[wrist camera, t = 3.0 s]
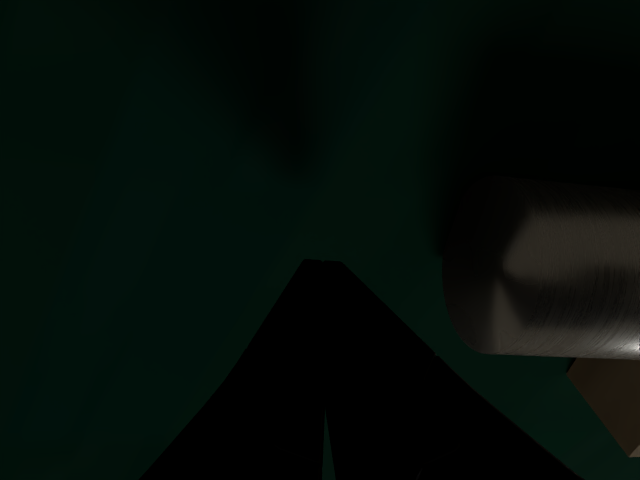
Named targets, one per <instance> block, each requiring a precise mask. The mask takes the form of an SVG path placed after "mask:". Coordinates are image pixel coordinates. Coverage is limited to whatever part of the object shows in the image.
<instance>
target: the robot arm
mask: <svg viewBox="0 0 640 480" xmlns="http://www.w3.org/2000/svg"><path fill="white" fill-rule="evenodd" d="M435 356H436V353H435V352H434V351H433V350H432V349H431V348H430V347H429V346H428V345H427V344H426V343H424V342H423V341H422V340H421V339H420V338H419V337H418V336H417V335H416V334H415V333H414V332H413V331H412V330H411V329H410V328H409V327H408V326H407V325H406V324H405V323H404V322H403V321H402V320H401V319H400V318H399V317H398V316H397V315H396V314H395V313H394V312H393V311H392V310H391V309H390V308H388V307H387V306H386V305H385V304H384V303H383V302H382V301H381V300H380V299H379V298H378V297H377V296H376V295H375V294H374V293H373V292H372V291H371V290H370V289H369V288H368V287H367V286H366V285H365V284H364V283H363V282H362V281H361V280H360V279H359V278H358V277H357V276H356V275H355V274H354V273H352V272H351V271H350V270H349V269H348V268H347V267H346V266H345V265H344V264H343V263H342V262H340V261H324V262H323V263H322V261H321V260H311V259H305V260H303V261H302V263H301V264H300V266H299V267H298V269H297V270H296V272H295V274H294V275H293V277H292V278H291V280H290V281H289V283H288V284H287V286H286V288H285V289H284V291H283V292H282V294H281V295H280V297H279V298H278V300H277V302H276V303H275V305H274V306H273V308H272V309H271V311H270V312H269V314H268V315H267V317H266V319H265V320H264V322H263V323H262V325H261V326H260V328H259V329H258V331H257V333H256V334H255V336H254V337H253V339H252V340H251V342H250V343H249V345H248V347H247V349H245V351H244V352H243V354H242V355H241V357H240V359H239V360H238V362H237V363H236V365H235V366H234V367H233V369H232V370H231V372H230V373H229V374H228V376H227V377H226V379H225V380H224V382H223V383H222V384H221V385H220V387H219V388H218V389H217V390H216V391H215V393H214V394H213V395H212V396H211V398H210V399H209V400H208V401H207V402H206V404H205V405H204V406H203V407H202V408H201V409H200V411H199V412H198V413H197V414H196V415H195V416H194V417H193V419H192V420H191V421H190V422H189V423H188V424H187V425H186V427H185V428H184V429H183V430H182V431H181V432H180V434H179V435H178V436H177V437H176V438H175V439H174V440H173V442H172V443H171V444H170V445H169V446H168V447H167V448H166V450H165V451H164V452H163V453H162V454H161V455H160V456H159V458H158V459H157V460H156V461H155V462H154V463H153V464H152V466H151V467H150V468H149V469H148V470H147V471H146V472H145V473H144V474H143V475H142V477H141V478H140V479H139V480H322V464H323V440H324V416H325V410H326V417H327V423H328V430H329V437H330V443H331V450H332V457H333V463H334V470H335V477H336V480H584V479H583V478H581V477H580V476H579V475H577V474H576V473H575V472H573V471H572V470H571V469H570V468H568V467H567V466H566V465H564V464H563V463H562V462H561V461H560V460H558V459H557V458H556V457H555V456H554V455H552V454H551V453H550V452H549V451H547V450H546V449H545V448H544V447H543V446H541V445H540V444H539V443H538V442H536V441H535V440H534V439H533V438H532V437H530V436H529V435H528V434H527V433H525V432H524V431H523V430H522V429H521V428H519V427H518V426H517V425H516V424H515V423H513V422H512V421H511V420H510V419H508V418H507V417H506V416H505V415H504V414H502V413H501V412H500V411H499V410H498V409H496V408H495V407H494V406H493V405H492V404H491V403H489V402H488V401H487V400H486V399H485V398H484V397H482V396H481V395H480V394H479V393H478V392H476V391H475V390H474V389H473V388H472V387H471V386H470V385H469V384H468V383H467V382H465V381H464V380H463V379H462V378H461V377H460V376H459V375H458V374H457V373H456V372H455V371H454V370H452V369H451V368H450V367H449V366H448V365H447V364H446V363H445V362H444V361H443V360H442V359H441V358H440V357H439V356H436V357H435Z"/></svg>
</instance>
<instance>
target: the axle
mask: <svg viewBox="0 0 640 480" xmlns="http://www.w3.org/2000/svg"><path fill="white" fill-rule="evenodd" d="M442 281H443V291H444V297H445V303H446V307H447V310H448V314H449V316H450V319H451V322H452V324H453V326H454V328H455V330H456V332H457V333H458V335H459V336H460V338H461V339H462V340H463V341H464V342H465V343H466V345H467V346H469V347H470V348H472V349H473V350H475V351H477V352H479V353H484V354H501V355H526V356H552V357H577V358H602V359H628V360H640V190H632V189H622V188H613V187H603V186H593V185H583V184H573V183H564V182H554V181H544V180H534V179H524V178H515V177H505V176H495V175H493V176H487V177H484V178H482V179H480V180H478V181H477V182H475V183H474V184H473V185H472V186H470V187H469V189H468V190H467V191H466V192H465V193H464V195H463V196H462V198H461V201H460V204H459V207H458V210H457V213H456V216H455V219H454V222H453V225H452V228H451V231H450V234H449V237H448V240H447V243H446V246H445V248H444V251H443V260H442Z"/></svg>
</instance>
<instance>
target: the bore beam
mask: <svg viewBox="0 0 640 480" xmlns="http://www.w3.org/2000/svg"><path fill="white" fill-rule="evenodd" d="M566 375H567V376H568V377H569V379H570V380H571V381H572V383H573V384H574V385H575V387H576V388H577V389H578V391H579V392H580V393H581V395H582V396H583V397H584V399H585V400H586V401H587V403H588V404H589V405H590V406H591V408H592V409H593V410H594V412H595V413H596V414H597V416H598V417H599V418H600V420H601V421H602V422H603V424H604V425H605V426H606V428H607V429H608V430H609V432H610V433H611V434H612V436H613V437H614V438H615V440H616V441H617V442H618V444H619V445H620V446H621V448H622V449H623V450H624V451H625V453H626V454H627V455H628V457H640V360H628V359H602V358H576V360H575V361H574V363H573V365H572V366H571V368H570V369H569V371H568V372H567V374H566Z"/></svg>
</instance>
